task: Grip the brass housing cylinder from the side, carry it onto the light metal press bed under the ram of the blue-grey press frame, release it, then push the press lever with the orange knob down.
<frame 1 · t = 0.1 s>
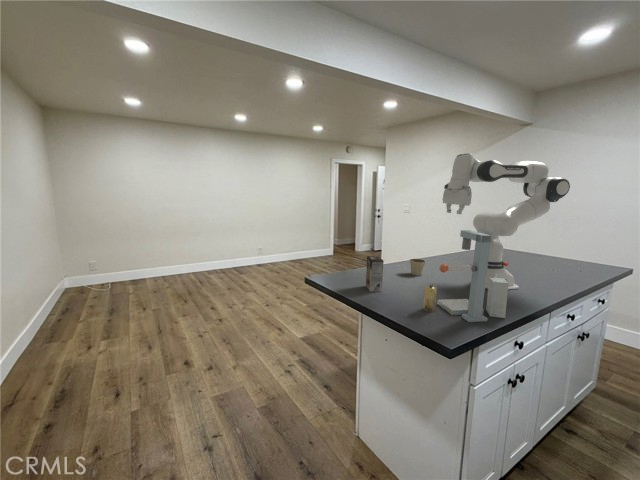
hand: (453, 213, 153), 39 cm above the table, tool pointing down, fingers open, 8 cm apart
press frame: (473, 318, 119), on the table
flower pot: (416, 274, 180), on the table
lever: (457, 268, 114), point 21 cm above the table, hinge at 0.0°
coffee box: (373, 289, 153), on the table
housing: (428, 309, 127), on the table
press bed: (459, 308, 129), on the table
skincare box: (494, 314, 125), on the table
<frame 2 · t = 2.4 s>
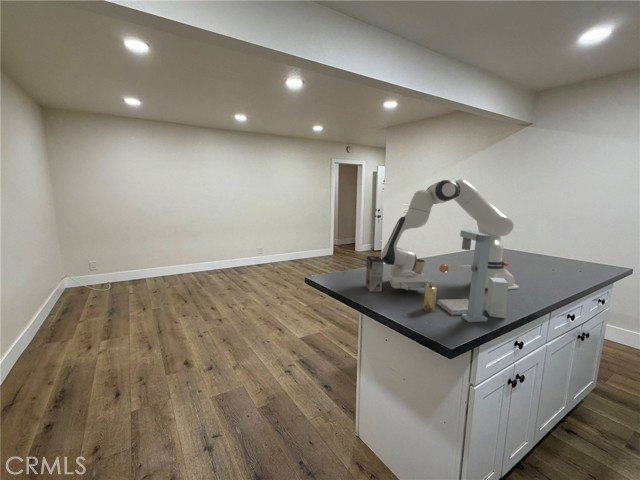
hand: (418, 288, 137), 6 cm above the table, tool horizontal, fingers open, 8 cm apart
nothing on the table moved.
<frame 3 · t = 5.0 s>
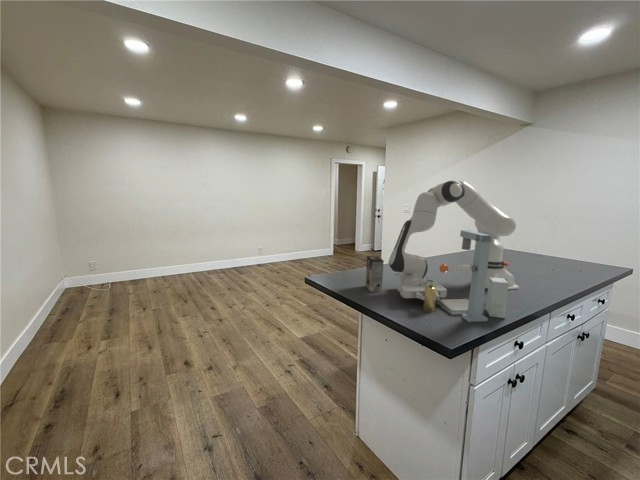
hand: (431, 298, 125), 6 cm above the table, tool horizontal, fingers closed on housing, 5 cm apart
housing: (428, 309, 127), on the table, touching gripper
everything else where it was.
when the fingers open (9 cm above the table, at t = 10.4 s): housing drops 1 cm, resting on press bed.
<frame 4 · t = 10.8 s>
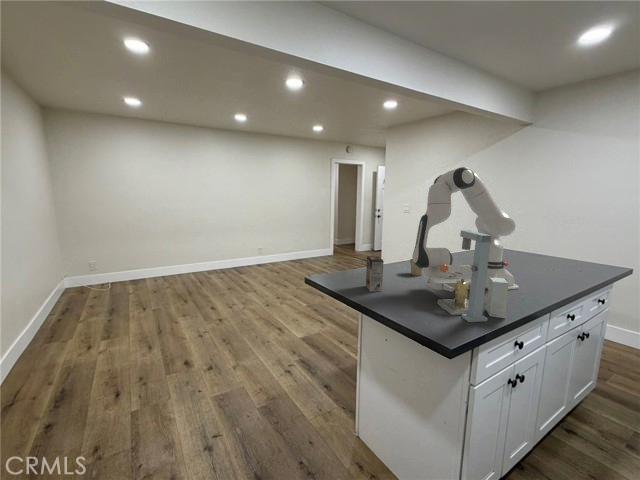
hand: (462, 289, 127), 9 cm above the table, tool horizontal, fingers open, 8 cm apart
housing: (460, 304, 129), point 2 cm above the table, touching press bed
everything else where it was.
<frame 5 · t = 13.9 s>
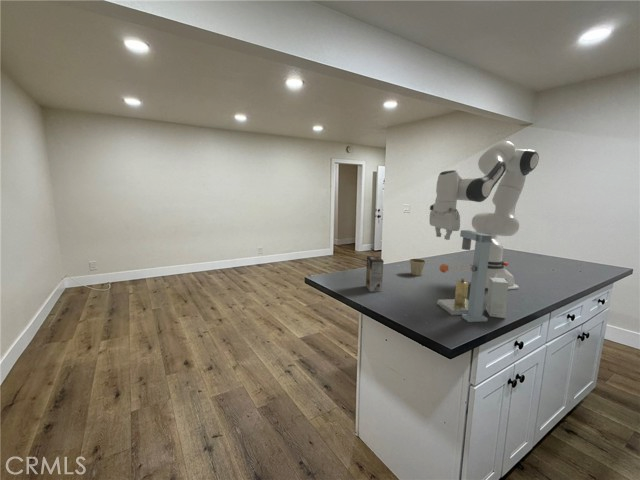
hand: (442, 238, 135), 29 cm above the table, tool pointing down, fingers open, 6 cm apart
nothing on the table moved.
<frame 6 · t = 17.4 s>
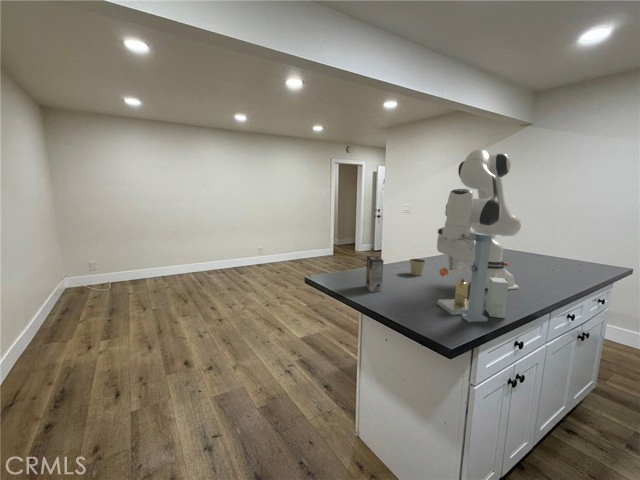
hand: (452, 268, 114), 21 cm above the table, tool pointing down, fingers closed, pressing on lever
lever: (457, 270, 115), point 20 cm above the table, hinge at 6.7°, touching gripper
everything else where it was.
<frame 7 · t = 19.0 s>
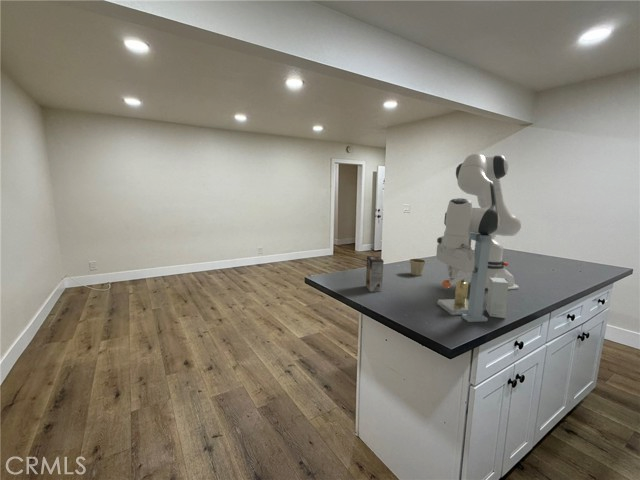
hand: (452, 277, 115), 17 cm above the table, tool pointing down, fingers closed, pressing on lever
lever: (458, 277, 115), point 17 cm above the table, hinge at 29.4°, touching gripper
everything else where it was.
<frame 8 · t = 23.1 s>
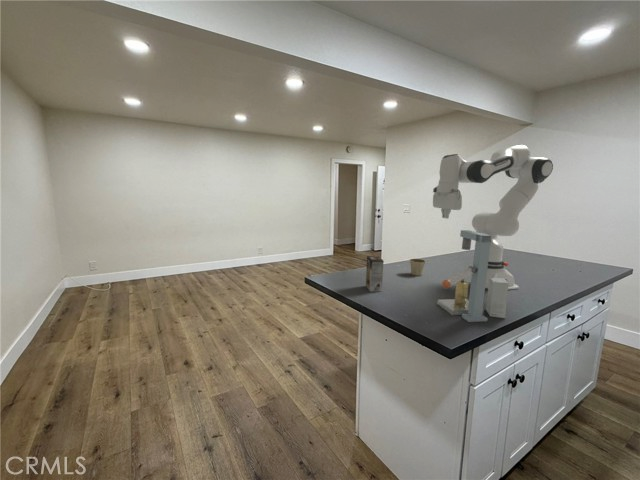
hand: (445, 218, 144), 37 cm above the table, tool pointing down, fingers closed
lever: (458, 277, 115), point 17 cm above the table, hinge at 29.4°
everything else where it was.
at the end: housing inside the target area on the press bed (0.0 cm from its centre), point 2.0 cm above the press bed's base; housing tilted 0°; lever at +29° (first picture: +0°) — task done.
